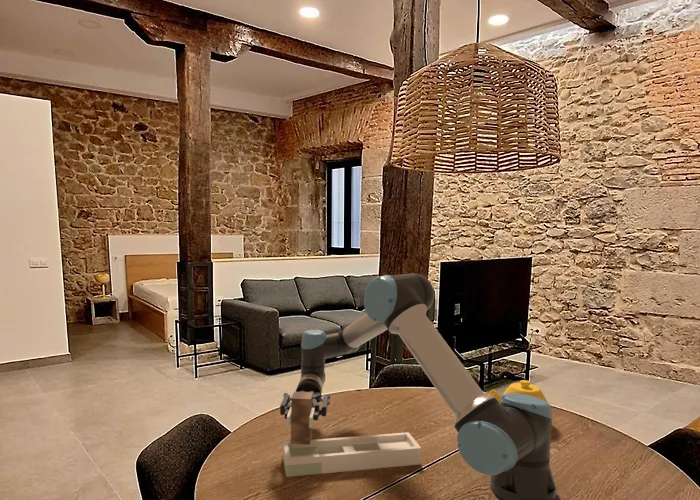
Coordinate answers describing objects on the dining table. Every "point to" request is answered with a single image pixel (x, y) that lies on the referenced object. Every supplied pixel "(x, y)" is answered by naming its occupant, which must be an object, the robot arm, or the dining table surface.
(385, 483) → the dining table surface
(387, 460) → the tray
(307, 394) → the walnut block
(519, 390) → the teapot
